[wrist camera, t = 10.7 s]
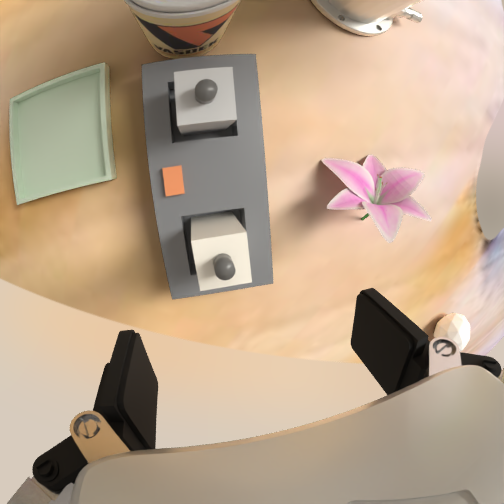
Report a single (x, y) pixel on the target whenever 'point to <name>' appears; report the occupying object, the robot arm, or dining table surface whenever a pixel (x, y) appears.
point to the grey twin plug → (205, 100)
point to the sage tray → (62, 134)
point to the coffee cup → (183, 24)
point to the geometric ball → (454, 329)
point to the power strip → (206, 170)
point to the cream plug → (220, 251)
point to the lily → (378, 192)
